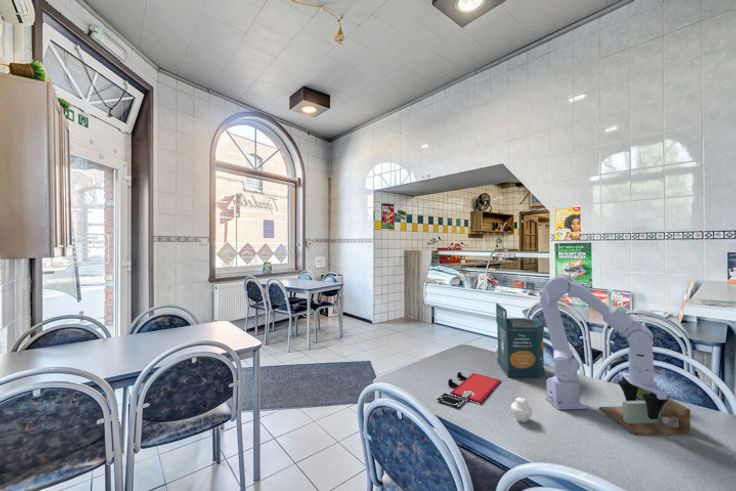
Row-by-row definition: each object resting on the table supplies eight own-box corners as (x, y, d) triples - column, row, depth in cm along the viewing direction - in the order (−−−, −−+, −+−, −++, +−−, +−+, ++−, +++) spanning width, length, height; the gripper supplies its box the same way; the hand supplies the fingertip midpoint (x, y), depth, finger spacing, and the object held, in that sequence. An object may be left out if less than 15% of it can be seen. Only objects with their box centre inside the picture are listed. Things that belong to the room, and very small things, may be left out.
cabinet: (634, 434, 91) (633, 410, 91) (599, 409, 105) (598, 388, 105) (690, 433, 91) (689, 409, 91) (647, 408, 105) (647, 387, 105)
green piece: (628, 423, 95) (627, 404, 95) (622, 420, 97) (622, 400, 97) (668, 423, 95) (667, 403, 95) (662, 419, 97) (661, 399, 97)
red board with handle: (431, 400, 114) (472, 415, 104) (431, 392, 114) (472, 406, 104) (465, 374, 137) (500, 383, 127) (465, 367, 137) (500, 376, 127)
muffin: (523, 427, 96) (523, 404, 96) (506, 417, 101) (506, 396, 101) (537, 421, 99) (536, 399, 99) (519, 412, 104) (519, 391, 104)
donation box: (497, 362, 147) (495, 302, 147) (534, 363, 145) (532, 302, 145) (507, 377, 131) (506, 310, 131) (549, 378, 129) (547, 310, 129)
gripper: (677, 376, 88) (678, 424, 89) (634, 357, 103) (635, 399, 103) (652, 377, 88) (653, 425, 89) (612, 358, 103) (613, 399, 103)
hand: (641, 411), depth 96 cm, fingers open, 7 cm apart
